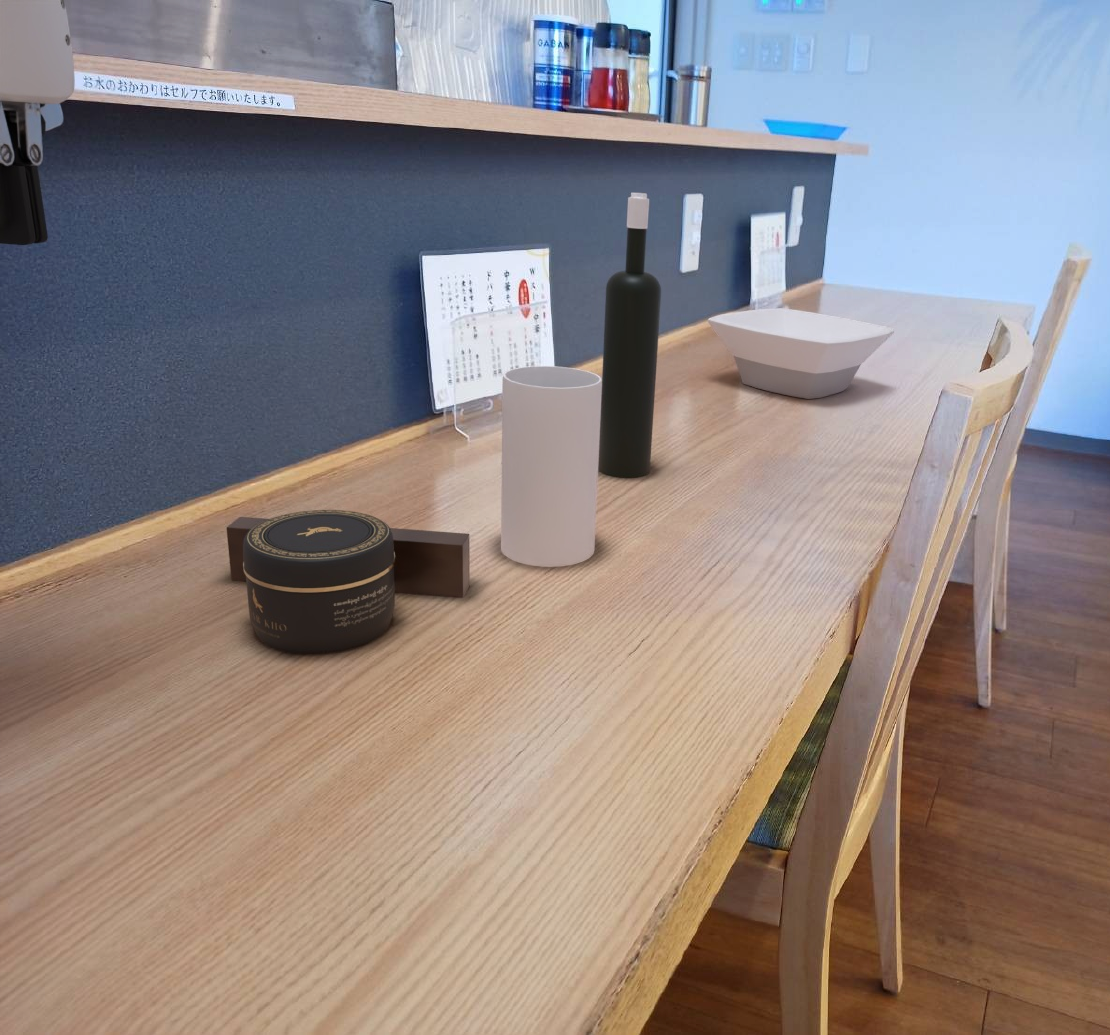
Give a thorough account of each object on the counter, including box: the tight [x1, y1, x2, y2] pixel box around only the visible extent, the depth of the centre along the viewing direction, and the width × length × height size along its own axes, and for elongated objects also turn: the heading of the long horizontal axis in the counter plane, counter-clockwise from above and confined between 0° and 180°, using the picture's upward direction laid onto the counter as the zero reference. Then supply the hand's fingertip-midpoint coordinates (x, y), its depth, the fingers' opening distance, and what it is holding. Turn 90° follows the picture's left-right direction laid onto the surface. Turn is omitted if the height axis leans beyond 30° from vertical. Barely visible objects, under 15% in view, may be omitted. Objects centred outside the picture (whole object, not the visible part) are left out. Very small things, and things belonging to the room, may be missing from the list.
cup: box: [500, 365, 602, 568], centre depth 85 cm, size 8×8×16 cm
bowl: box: [707, 307, 895, 400], centre depth 157 cm, size 24×25×10 cm
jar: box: [243, 509, 396, 655], centre depth 70 cm, size 10×10×8 cm
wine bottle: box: [598, 191, 662, 479], centre depth 105 cm, size 6×6×30 cm
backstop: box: [226, 516, 471, 599], centre depth 77 cm, size 18×2×5 cm, turn 89°
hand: (9, 241), depth 53 cm, fingers closed
